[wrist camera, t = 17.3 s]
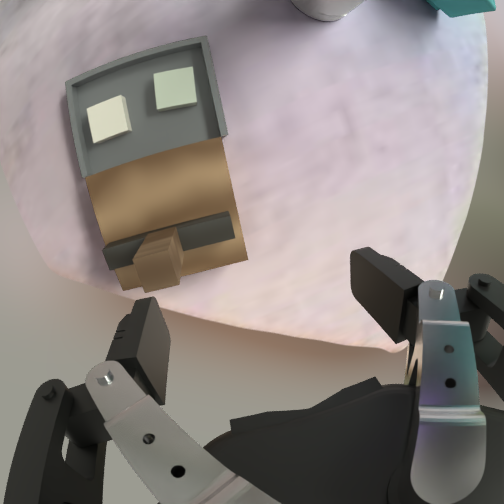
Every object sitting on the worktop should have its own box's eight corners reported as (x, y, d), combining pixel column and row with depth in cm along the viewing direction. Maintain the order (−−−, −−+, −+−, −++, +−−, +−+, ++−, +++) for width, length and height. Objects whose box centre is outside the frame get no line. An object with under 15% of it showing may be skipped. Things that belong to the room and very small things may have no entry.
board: (100, 173, 31) (85, 177, 26) (218, 139, 32) (221, 136, 27) (131, 273, 36) (123, 290, 31) (242, 245, 37) (248, 259, 32)
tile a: (93, 143, 27) (99, 143, 28) (127, 129, 27) (132, 131, 29) (86, 108, 25) (92, 110, 27) (120, 94, 25) (125, 97, 27)
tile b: (156, 109, 27) (159, 111, 29) (196, 102, 27) (197, 104, 29) (153, 73, 25) (156, 78, 27) (192, 66, 26) (193, 71, 28)
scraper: (108, 240, 29) (76, 274, 20) (227, 208, 30) (238, 232, 21) (116, 264, 30) (89, 305, 21) (233, 234, 31) (246, 268, 22)
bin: (73, 85, 26) (65, 81, 23) (206, 42, 27) (206, 35, 25) (89, 176, 30) (82, 178, 28) (226, 135, 32) (228, 134, 30)
